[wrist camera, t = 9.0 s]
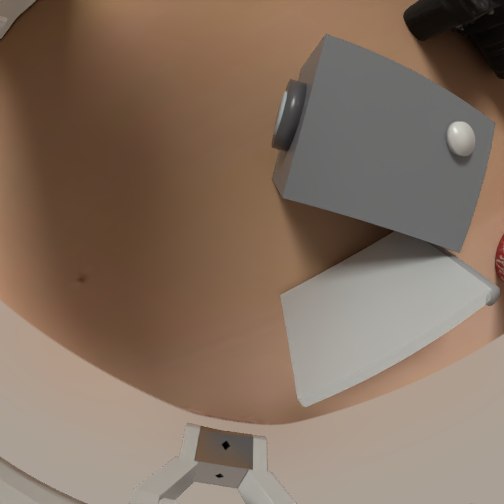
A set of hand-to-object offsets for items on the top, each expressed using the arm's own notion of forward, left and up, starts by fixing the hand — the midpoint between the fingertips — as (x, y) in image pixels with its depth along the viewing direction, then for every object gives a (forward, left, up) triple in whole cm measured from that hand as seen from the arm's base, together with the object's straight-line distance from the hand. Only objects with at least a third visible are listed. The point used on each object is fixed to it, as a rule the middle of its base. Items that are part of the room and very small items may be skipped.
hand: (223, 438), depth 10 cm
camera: (+15, +28, -16) cm, 36 cm away
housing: (+7, +12, -16) cm, 21 cm away
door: (+9, +3, -16) cm, 18 cm away
